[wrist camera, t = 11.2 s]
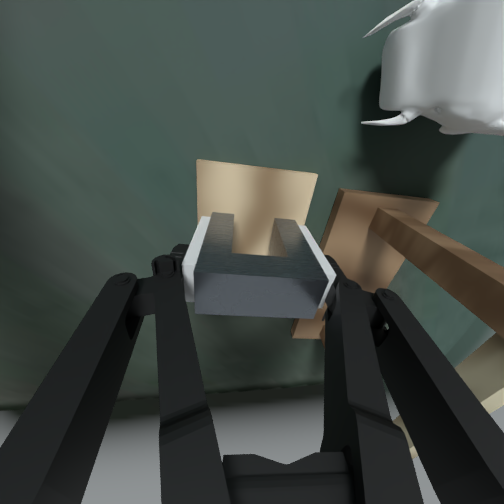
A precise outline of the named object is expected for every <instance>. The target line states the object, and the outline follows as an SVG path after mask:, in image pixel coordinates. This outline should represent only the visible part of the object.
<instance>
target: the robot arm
mask: <svg viewBox="0 0 504 504" xmlns="http://www.w3.org/2000/svg"><path fill="white" fill-rule="evenodd" d="M210 218H211V217H206V216H202V217H201V219H200V222H199V224H198V226H197V229H196V231H195V234H194V236H193V238H192V241H191V243H190V245H187V244H178V245H177V246H175V247H174V248H173V250H172V252H171V254H170V255H161V256H158V257H156V258H154V259H153V260H152V263H151V264H152V270H153V276H152V277H148V278H142V279H137V277H136V275H135V274H132V273H120V274H117V275H114V276H113V277H111V278H110V279H109V280H108V281H107V282H106V284H105V285H104V287H103V288H102V290H101V292H100V293H99V295H98V296H97V298H96V299H95V301H94V302H93V304H92V306H91V307H90V309H89V310H88V312H87V313H86V315H85V316H84V318H83V320H82V321H81V323H80V324H79V326H78V327H77V329H76V330H75V332H74V334H73V335H72V337H71V338H70V340H69V341H68V343H67V345H66V346H65V348H64V349H63V351H62V352H61V354H60V355H59V357H58V359H57V360H56V362H55V363H54V365H53V366H52V368H51V369H50V371H49V373H48V374H47V376H46V377H45V379H44V380H43V382H42V383H41V385H40V387H39V388H38V390H37V391H36V393H35V394H34V396H33V398H32V399H31V401H30V402H29V404H28V405H27V407H26V408H25V410H24V412H23V413H22V415H21V416H20V418H19V419H18V421H17V422H16V424H15V426H14V427H13V429H12V430H11V432H10V433H9V435H8V437H7V438H6V440H5V441H4V443H3V444H2V446H1V447H0V504H81V502H82V498H83V495H84V493H85V490H86V487H87V484H88V481H89V478H90V475H91V472H92V469H93V466H94V463H95V460H96V457H97V454H98V451H99V448H100V446H101V443H102V439H103V437H104V434H105V431H106V428H107V425H108V422H109V419H110V416H111V413H112V410H113V407H114V404H115V401H116V398H117V395H118V392H119V390H120V387H121V384H122V381H123V378H124V375H125V372H126V369H127V366H128V363H129V360H130V357H131V354H132V351H133V348H134V345H135V342H136V339H137V337H138V334H139V331H140V328H141V325H142V322H143V319H144V316H145V315H150V314H155V319H156V340H157V362H158V383H159V404H160V430H159V451H160V477H161V502H162V504H424V503H423V499H422V495H421V491H420V487H419V483H418V480H417V476H416V472H415V468H414V464H413V461H412V457H411V453H410V449H409V445H408V441H407V439H406V436H405V433H404V432H403V430H402V429H401V427H399V426H397V425H396V424H394V423H393V421H392V419H391V416H390V412H389V408H388V403H387V399H386V394H385V390H384V385H383V381H382V376H383V379H384V380H385V383H386V385H387V387H388V390H389V392H390V394H391V396H392V398H393V401H394V403H395V405H396V407H397V409H398V412H399V414H400V416H401V418H402V420H403V423H404V425H405V427H406V429H407V431H408V434H409V436H410V438H411V440H412V443H413V445H414V447H415V449H416V451H417V454H418V456H419V458H420V460H421V462H422V464H423V467H424V469H425V471H426V473H427V475H428V478H429V480H430V482H431V484H432V486H433V489H434V491H435V493H436V495H437V497H438V499H439V501H440V503H441V504H504V433H503V432H502V430H501V429H500V428H499V426H498V425H497V424H496V423H495V421H494V420H493V418H492V417H491V416H490V415H489V413H488V412H487V411H486V409H485V408H484V407H483V405H482V404H481V403H480V401H479V400H478V399H477V398H476V396H475V395H474V394H473V392H472V391H471V390H470V388H469V387H468V386H467V384H466V383H465V382H464V381H463V379H462V378H461V377H460V375H459V374H458V373H457V371H456V370H455V369H454V368H453V366H452V365H451V364H450V362H449V361H448V360H447V358H446V357H445V356H444V354H443V353H442V352H441V351H440V349H439V348H438V347H437V345H436V344H435V343H434V341H433V340H432V339H431V337H430V336H429V335H428V334H427V332H426V331H425V330H424V328H423V327H422V326H421V324H420V323H419V322H418V320H417V319H416V318H415V317H414V315H413V314H412V313H411V311H410V310H409V309H408V307H407V306H406V305H405V304H404V302H403V301H402V300H401V298H400V297H399V296H398V295H397V294H396V293H394V292H393V291H391V290H389V289H385V288H378V289H377V290H376V291H375V293H371V292H368V291H364V290H362V288H361V286H360V285H359V284H358V283H356V282H355V281H353V280H350V279H347V277H346V276H345V274H344V273H343V271H342V270H341V268H340V267H339V265H337V262H336V261H335V260H334V259H333V258H332V257H331V256H329V255H324V254H323V253H322V251H321V249H320V248H319V246H318V245H317V243H316V242H315V240H314V238H313V237H312V235H311V234H310V232H309V230H308V229H307V227H306V226H303V225H298V226H299V228H300V230H301V231H302V233H303V235H304V237H305V238H306V240H307V242H308V244H309V246H310V247H311V249H312V251H313V253H314V254H315V256H316V258H317V260H318V262H319V263H320V265H321V267H322V269H323V271H324V272H325V274H326V276H327V278H328V279H329V283H328V285H327V287H326V290H325V292H324V295H323V297H322V299H321V302H320V304H319V307H318V308H322V307H323V305H324V303H326V305H327V309H326V311H325V313H324V316H323V318H322V321H324V319H325V369H324V435H323V440H322V444H321V448H320V452H318V453H313V454H311V455H309V456H306V457H304V458H302V459H300V460H297V461H295V462H293V463H290V464H287V465H286V464H282V463H279V462H276V461H273V460H270V459H266V458H264V457H261V456H258V455H255V454H242V455H241V454H240V455H223V462H222V461H221V456H220V452H219V447H218V442H217V438H216V434H215V429H214V424H213V420H212V415H211V412H210V409H209V407H208V405H207V400H206V395H205V391H204V386H203V381H202V376H201V371H200V367H199V362H198V357H197V352H196V348H195V343H194V338H193V333H192V328H191V324H190V319H189V314H188V309H187V304H186V302H195V301H194V276H193V271H194V268H195V265H196V262H197V259H198V256H199V253H200V249H201V246H202V243H203V240H204V237H205V234H206V230H207V227H208V224H209V221H210ZM386 323H387V324H388V326H389V329H388V330H387V329H386V327H385V325H386ZM381 374H382V376H381Z"/></svg>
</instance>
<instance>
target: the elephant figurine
mask: <svg viewBox="0 0 504 504" xmlns="http://www.w3.org/2000/svg"><path fill="white" fill-rule="evenodd" d="M406 16H411V19H410V21H409V22H407V23H405V24H404V25H402V26H400V27H398V28H396V29H395V30H393V31H392V32H391V33H390V34H389V36H388V37H387V39H386V42H385V44H384V47H383V51H382V72H381V87H380V96H379V106H380V108H381V109H383V110H389V111H401V114H400V115H398V116H396V117H394V118H390V119H385V120H379V121H366V122H361V124H369V125H378V126H386V125H401V124H406V123H407V122H409V121H411V120H413V119H414V118H416V117H417V116H419V115H422V116H424V117H426V118H429V119H431V120H434V121H436V122H437V123H439V124H441V125H442V126H441V127H440V129H439V131H440V132H441V133H443V134H452V135H455V134H465V133H481V134H493V135H502V136H504V0H414V1H412V2H411V3H409V4H407V5H406V6H404V7H403V8H401V9H399V10H398V11H396V12H395V13H393V14H392V15H390V16H388V17H387V18H386V19H384V20H383V21H382V22H381V23H380V24H378V25H377V26H376V27H375V28H374V29H372V30H371V31H370V32H369V33H368V34H367V35H365V36H364V37H367V36H370V35H372V34H374V33H375V32H377V31H379V30H380V29H382V28H383V27H385V26H387V25H388V24H390V23H392V22H393V21H395V20H398V19H400V18H403V17H406ZM364 37H363V38H364Z"/></svg>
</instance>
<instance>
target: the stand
mask: <svg viewBox="0 0 504 504" xmlns="http://www.w3.org/2000/svg"><path fill="white" fill-rule="evenodd" d="M438 205H439V202H437V201H434V200H432V199H429V198H420V197H411V196H402V195H394V194H385V193H376V192H367V191H359V190H350V189H341V188H339V190H338V193H337V196H336V199H335V202H334V205H333V208H332V211H331V214H330V217H329V220H328V223H327V226H326V229H325V232H324V234H323V237H322V240H321V243H320V246H319V248H320V249H321V251H322V253H323V254H324V255H329V256H331V257H332V258H333V259H334V260H335V261H336V262H337V265H339V267H340V268H341V270H342V271H343V273H344V274H345V276H346V277H347V279H350V280H353V281H355V282H356V283H358V284H359V285H360V286H361V288H362V290H364V291H368V292H371V293H375V291H376V290H377V289H378V288H385V289H387V287H388V285H389V284H390V282H391V281H392V279H393V277H394V276H395V274H396V273H397V271H398V269H399V268H400V266H401V264H402V263H403V261H404V260H405V258H406V259H408V260H409V261H410V262H411V263H412V264H414V265H415V266H416V267H417V268H419V269H420V270H421V271H422V272H423V273H425V274H426V275H427V276H428V277H430V278H431V279H432V280H433V281H434V282H436V283H437V284H438V285H439V286H440V287H442V288H443V289H444V290H445V291H447V292H448V293H449V294H450V295H451V296H453V297H454V298H455V299H456V300H458V301H459V302H460V303H461V304H462V305H464V306H465V307H466V308H467V309H469V310H470V311H471V312H472V313H473V314H475V315H476V316H477V317H478V318H480V319H481V320H482V321H483V322H484V323H486V324H487V325H488V326H489V327H491V328H492V329H493V330H494V331H495V332H497V333H495V334H494V335H493V336H492V337H491V338H489V339H488V340H487V341H486V342H485V343H484V344H482V345H481V346H480V347H479V348H478V349H477V350H475V351H474V352H473V353H472V354H471V355H470V356H468V357H467V358H466V359H465V360H464V361H463V362H461V363H460V364H459V365H458V366H457V367H456V368H454V369H455V370H456V371H457V373H458V374H459V375H460V377H461V378H462V379H463V381H464V382H465V383H466V384H467V386H468V387H469V388H470V390H471V391H472V392H473V394H474V395H475V396H476V398H477V399H478V400H479V401H480V403H481V404H482V405H483V407H484V408H485V409H486V411H487V412H488V413H489V414H490V413H491V412H493V411H495V410H496V409H498V408H500V407H501V406H503V405H504V267H502V266H500V265H498V264H497V263H495V262H493V261H491V260H489V259H487V258H486V257H484V256H482V255H480V254H478V253H477V252H475V251H473V250H471V249H469V248H467V247H466V246H464V245H462V244H460V243H458V242H457V241H455V240H453V239H451V238H449V237H447V236H446V235H444V234H442V233H440V232H438V231H437V230H435V229H433V228H431V227H429V226H427V225H426V224H427V222H428V221H429V219H430V218H431V216H432V214H433V213H434V211H435V210H436V208H437V206H438ZM326 309H327V305H326V303H324V305H323V307H322V308H318V309H317V312H316V314H315V316H314V319H302V318H295V320H294V323H293V325H292V328H291V334H292V338H305V339H321V340H322V343H323V346H324V348H325V319H324V321H322V318H323V316H324V313H325V311H326ZM393 423H394V424H396V425H397V426H399V427H401V429H402V430H403V432H404V433H405V436H406V439H407V441H408V445H409V449H410V453H411V457H412V459H413V458H415V457H417V456H418V454H417V451H416V449H415V447H414V445H413V443H412V440H411V438H410V436H409V434H408V431H407V429H406V427H405V425H404V423H403V420H402V418H401V416H400V415H399V416H398V417H397V418H396V419H395V420H394V421H393Z"/></svg>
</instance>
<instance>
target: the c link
mask: <svg viewBox="0 0 504 504" xmlns="http://www.w3.org/2000/svg"><path fill="white" fill-rule="evenodd" d="M233 226H234V214H228V213H218V212H212V215H211V218H210V221H209V224H208V227H207V230H206V234H205V237H204V240H203V243H202V246H201V249H200V253H199V256H198V259H197V262H196V265H195V268H194V271H193V276H194V301H195V314H212V315H234V316H257V317H280V318H302V319H314V316H315V314H316V312H317V309H318V307H319V304H320V302H321V299H322V297H323V295H324V292H325V290H326V287H327V285H328V283H329V279H328V278H327V276H326V274H325V272H324V271H323V269H322V267H321V265H320V263H319V262H318V260H317V258H316V256H315V254H314V253H313V251H312V249H311V247H310V246H309V244H308V242H307V240H306V238H305V237H304V235H303V233H302V231H301V230H300V228H299V226H298V224H297V222H296V221H295V220H291V219H281V218H274V223H273V228H272V234H271V239H270V244H269V252H270V256H267V255H253V254H240V253H232V240H233Z"/></svg>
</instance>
